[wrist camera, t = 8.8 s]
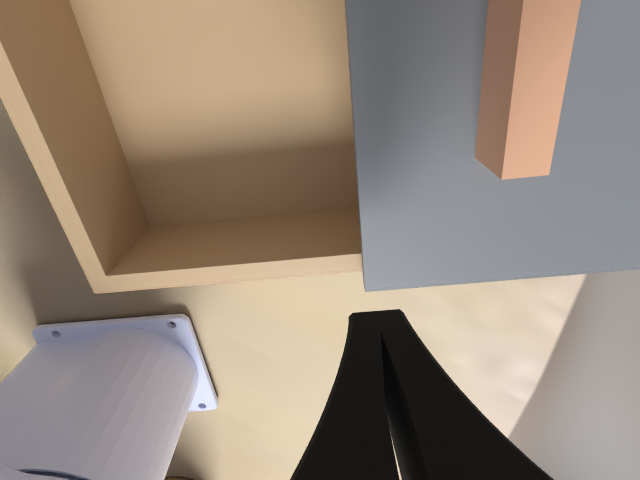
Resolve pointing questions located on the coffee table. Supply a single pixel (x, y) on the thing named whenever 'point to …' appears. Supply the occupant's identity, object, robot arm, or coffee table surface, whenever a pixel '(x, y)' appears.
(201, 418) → the coffee table surface
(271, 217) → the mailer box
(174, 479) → the mug
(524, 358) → the coffee table surface
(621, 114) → the lid
